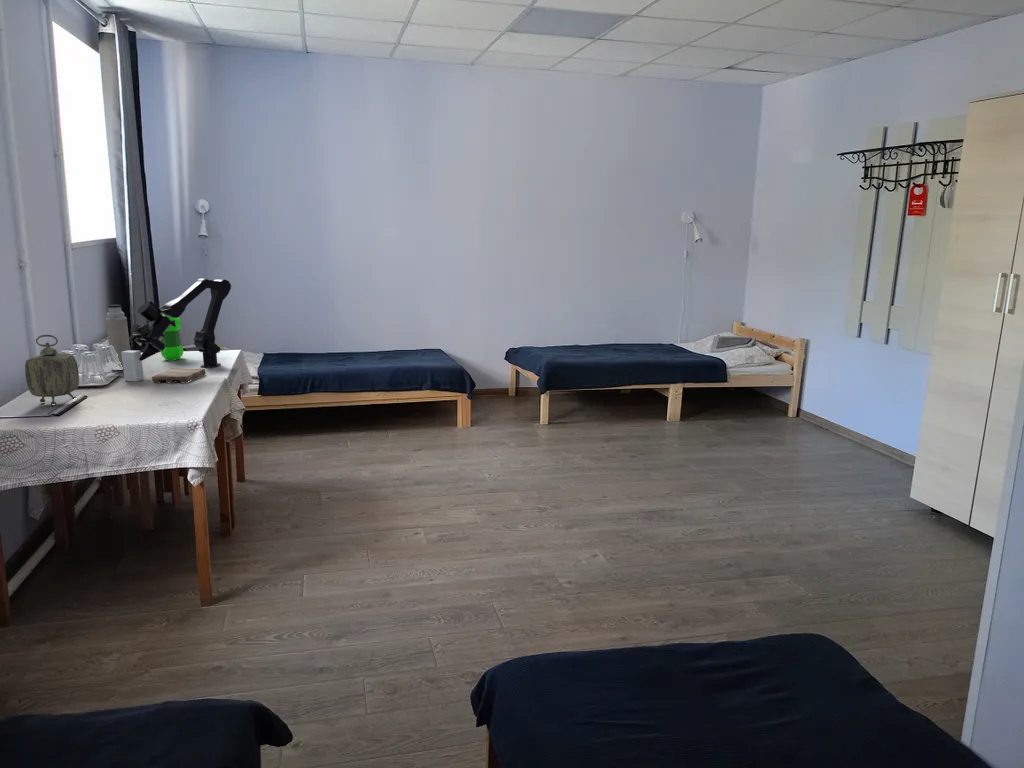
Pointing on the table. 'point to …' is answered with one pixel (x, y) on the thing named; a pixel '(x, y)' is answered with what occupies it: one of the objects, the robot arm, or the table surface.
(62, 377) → the tabletop clock
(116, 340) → the thermos bottle
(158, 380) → the pallet dock
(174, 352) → the plastic bottle
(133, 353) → the skincare box
